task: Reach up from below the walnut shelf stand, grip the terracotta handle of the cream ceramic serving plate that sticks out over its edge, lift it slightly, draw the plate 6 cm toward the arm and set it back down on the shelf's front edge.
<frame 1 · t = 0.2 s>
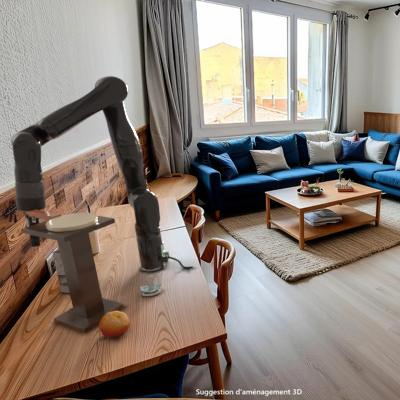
hand: (34, 242, 115), 22 cm above the table, tool pointing down, fingers open, 8 cm apart
shelf stand: (88, 314, 113), on the table
fruit: (116, 334, 103), on the table
pacifier: (151, 293, 125), on the table
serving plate: (73, 223, 103), point 32 cm above the table, touching shelf stand
coffee box: (78, 287, 130), on the table
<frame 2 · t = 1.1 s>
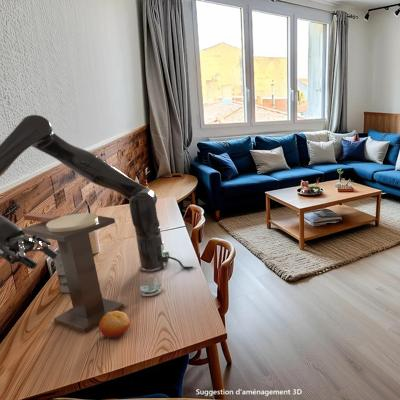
hand: (45, 261, 107), 19 cm above the table, tool tilted 55°, fingers open, 8 cm apart
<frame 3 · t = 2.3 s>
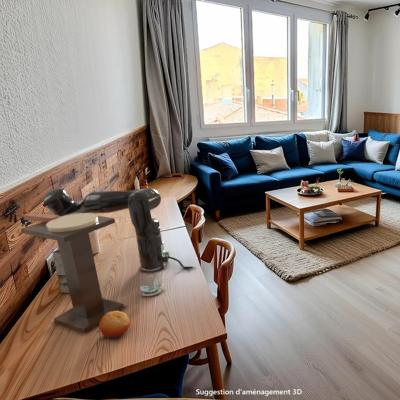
hand: (13, 221, 115), 29 cm above the table, tool pointing upward, fingers open, 8 cm apart
nothing on the table moved.
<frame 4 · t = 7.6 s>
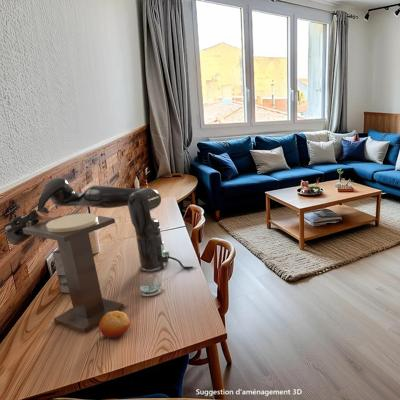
hand: (41, 211, 107), 34 cm above the table, tool pointing upward, fingers closed on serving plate, 2 cm apart
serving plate: (73, 224, 103), point 32 cm above the table, touching gripper, shelf stand
everything else where it was.
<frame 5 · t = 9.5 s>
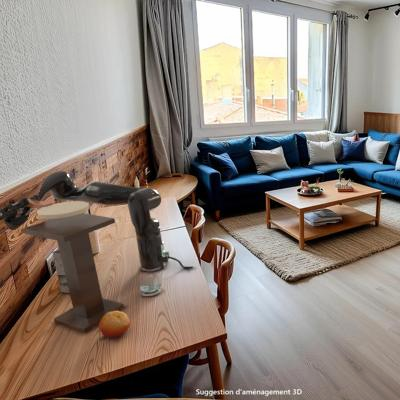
hand: (32, 199, 107), 38 cm above the table, tool pointing upward, fingers closed on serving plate, 2 cm apart
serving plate: (64, 211, 103), point 36 cm above the table, touching gripper
everything else where it was.
when the fingers open (34 cm above the table, at t = 11.6 s): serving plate stays where it is, resting on shelf stand.
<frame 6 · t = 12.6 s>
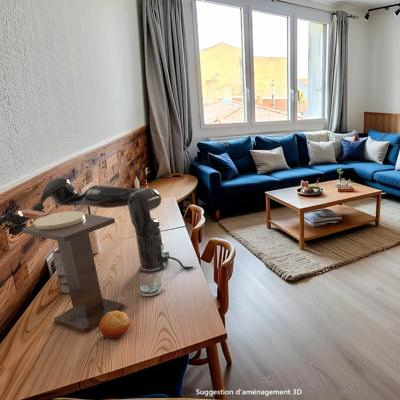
hand: (27, 209, 110), 34 cm above the table, tool pointing upward, fingers open, 8 cm apart
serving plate: (60, 221, 105), point 32 cm above the table, touching shelf stand
everything else where it was.
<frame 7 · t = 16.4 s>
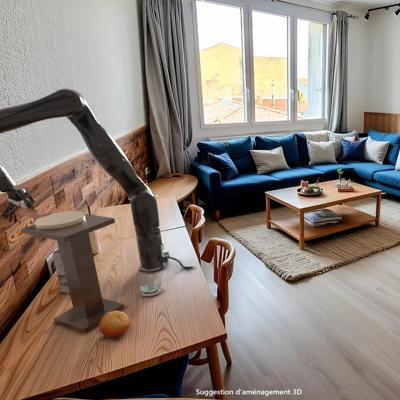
hand: (26, 220, 119), 28 cm above the table, tool tilted 20°, fingers open, 8 cm apart
nothing on the table moved.
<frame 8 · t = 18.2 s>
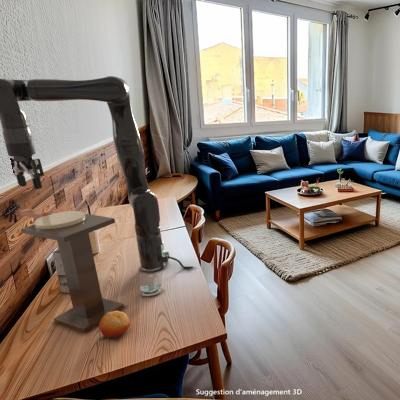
hand: (30, 187, 121), 38 cm above the table, tool pointing down, fingers open, 8 cm apart
nothing on the table moved.
at the end: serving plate moved 5.6 cm from its start; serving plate point 32.0 cm above the table; the gripper is holding nothing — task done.
